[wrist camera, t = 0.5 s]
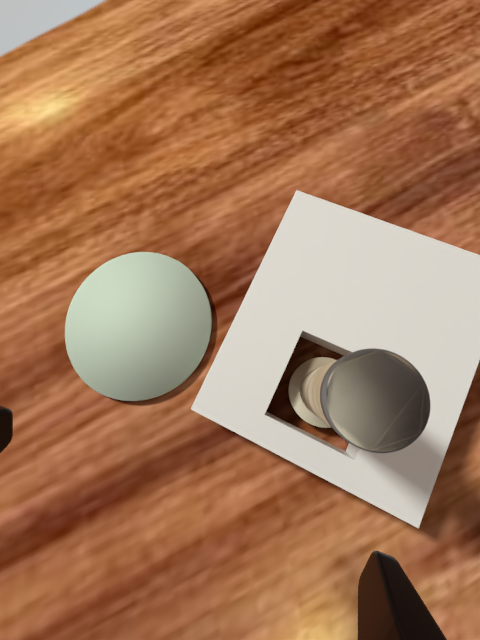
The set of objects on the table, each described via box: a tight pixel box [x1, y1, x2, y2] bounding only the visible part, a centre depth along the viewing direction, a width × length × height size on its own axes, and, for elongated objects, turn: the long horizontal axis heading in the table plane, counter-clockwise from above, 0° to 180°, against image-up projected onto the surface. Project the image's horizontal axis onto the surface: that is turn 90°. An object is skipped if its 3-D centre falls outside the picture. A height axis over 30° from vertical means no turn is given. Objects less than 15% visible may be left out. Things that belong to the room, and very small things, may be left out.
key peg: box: [288, 348, 430, 453], centre depth 16 cm, size 4×4×12 cm
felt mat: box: [65, 252, 212, 401], centre depth 24 cm, size 11×11×1 cm
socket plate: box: [191, 190, 480, 528], centre depth 21 cm, size 16×14×2 cm
